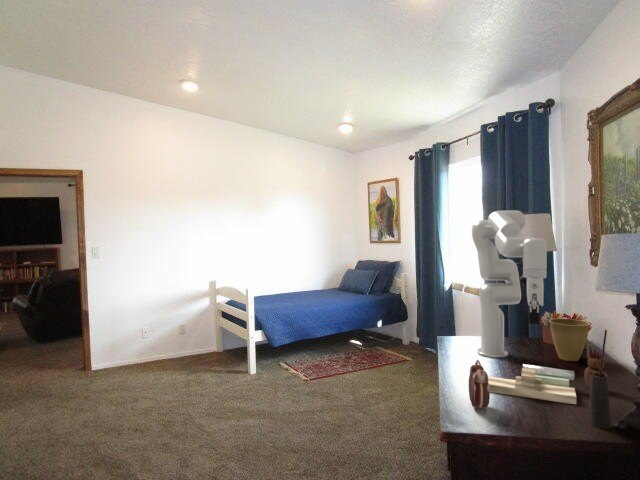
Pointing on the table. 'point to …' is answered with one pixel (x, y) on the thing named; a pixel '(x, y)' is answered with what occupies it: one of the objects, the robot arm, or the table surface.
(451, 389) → the table surface
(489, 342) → the robot arm
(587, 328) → the plant pot
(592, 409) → the butter churn
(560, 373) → the steel axle
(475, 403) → the alarm clock
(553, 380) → the block
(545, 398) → the maple beam
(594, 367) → the wooden figurine
